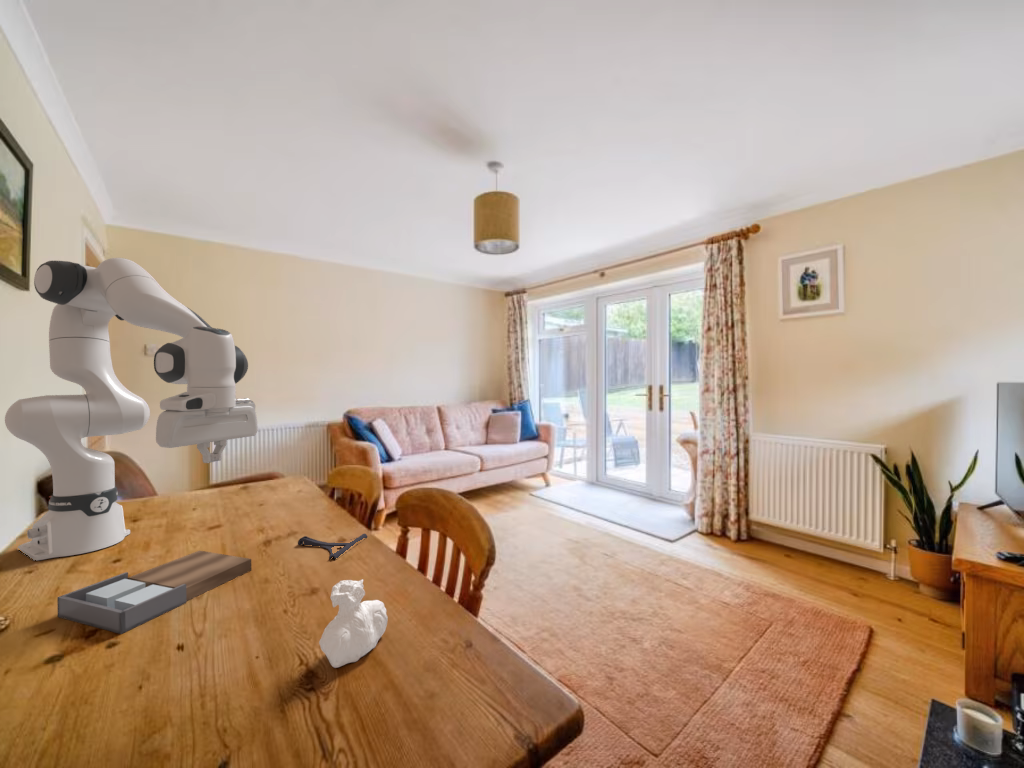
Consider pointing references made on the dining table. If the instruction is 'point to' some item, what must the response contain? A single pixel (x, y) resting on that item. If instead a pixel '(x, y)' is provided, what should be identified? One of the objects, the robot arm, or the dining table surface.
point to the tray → (115, 619)
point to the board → (195, 572)
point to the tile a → (113, 592)
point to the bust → (352, 624)
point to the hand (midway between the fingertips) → (211, 461)
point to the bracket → (330, 544)
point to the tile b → (139, 596)
